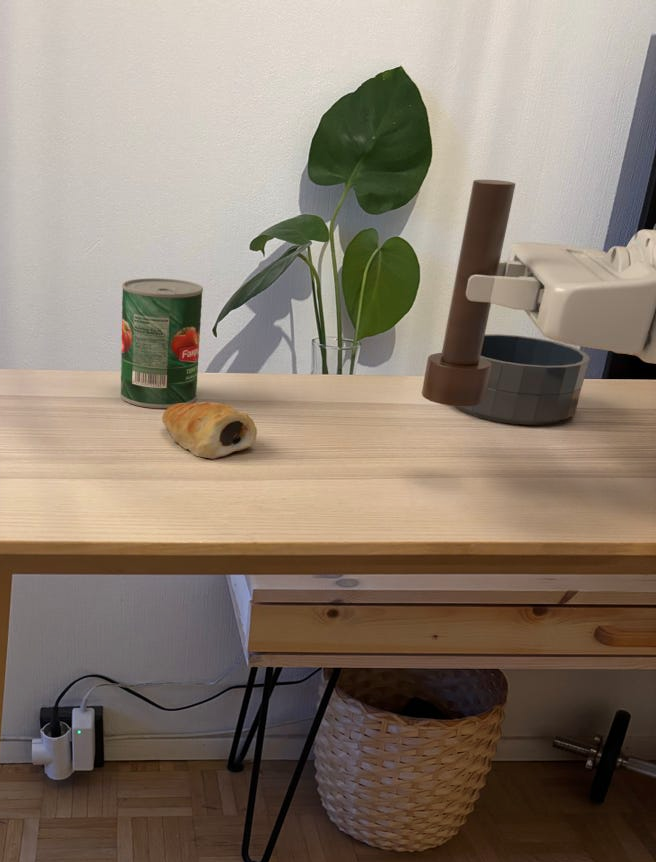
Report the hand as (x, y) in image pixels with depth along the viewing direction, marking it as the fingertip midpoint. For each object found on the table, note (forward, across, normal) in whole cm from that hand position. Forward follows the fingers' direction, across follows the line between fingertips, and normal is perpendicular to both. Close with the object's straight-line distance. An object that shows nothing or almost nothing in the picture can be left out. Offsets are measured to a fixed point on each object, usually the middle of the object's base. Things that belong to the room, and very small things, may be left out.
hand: (463, 280), depth 73 cm
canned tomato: (+26, -16, +16) cm, 35 cm away
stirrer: (-1, 0, +9) cm, 9 cm away
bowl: (-10, -24, +16) cm, 31 cm away
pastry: (+20, -4, +16) cm, 26 cm away
